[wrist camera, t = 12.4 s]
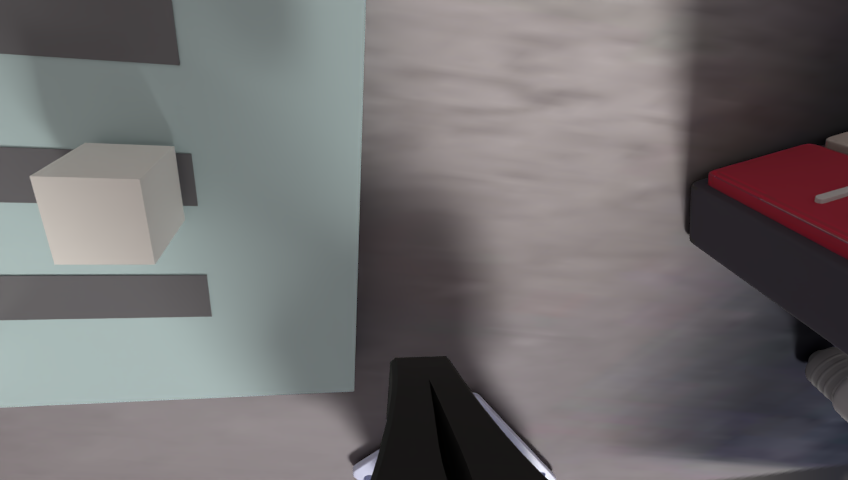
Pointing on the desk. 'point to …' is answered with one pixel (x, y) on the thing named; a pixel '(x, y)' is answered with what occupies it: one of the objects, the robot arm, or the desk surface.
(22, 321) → the switch board
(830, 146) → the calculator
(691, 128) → the desk surface
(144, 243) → the tab
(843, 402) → the lightbulb
